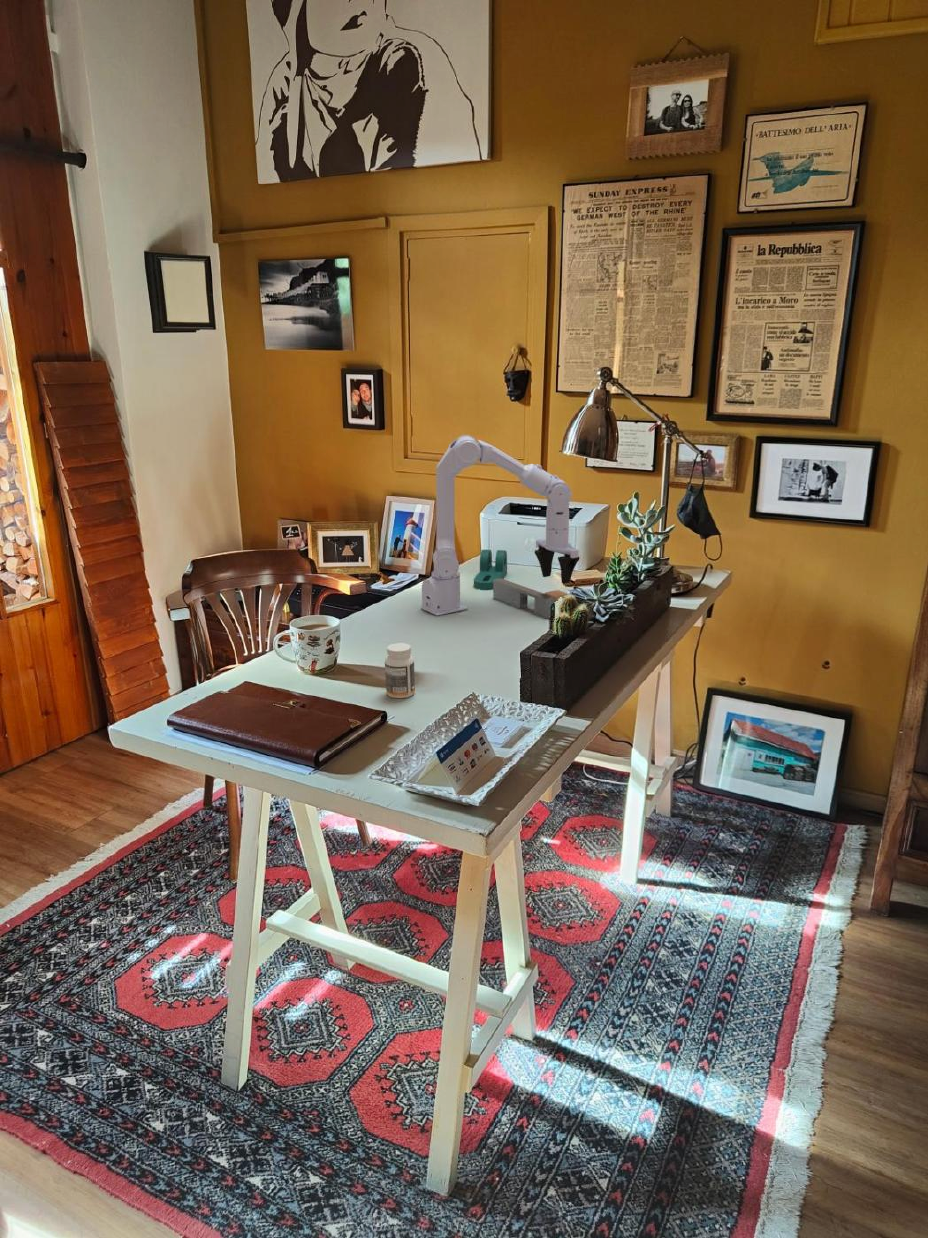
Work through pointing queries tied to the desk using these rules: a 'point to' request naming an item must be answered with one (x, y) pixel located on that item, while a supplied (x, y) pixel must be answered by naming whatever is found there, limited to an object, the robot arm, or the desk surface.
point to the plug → (556, 594)
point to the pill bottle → (399, 671)
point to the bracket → (490, 569)
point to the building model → (521, 596)
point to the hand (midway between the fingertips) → (556, 579)
